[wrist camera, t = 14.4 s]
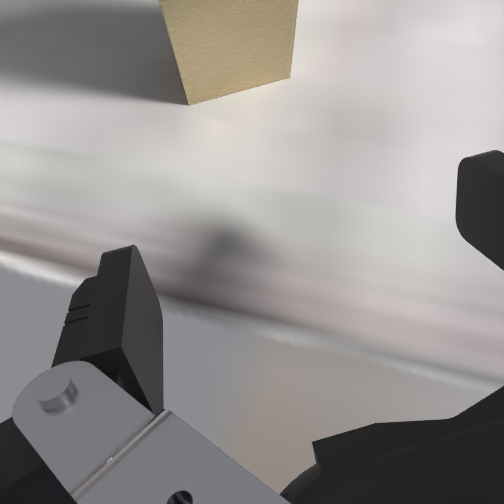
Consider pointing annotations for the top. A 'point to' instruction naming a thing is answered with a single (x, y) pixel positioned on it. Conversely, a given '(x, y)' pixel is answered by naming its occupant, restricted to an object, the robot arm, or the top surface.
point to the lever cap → (229, 43)
